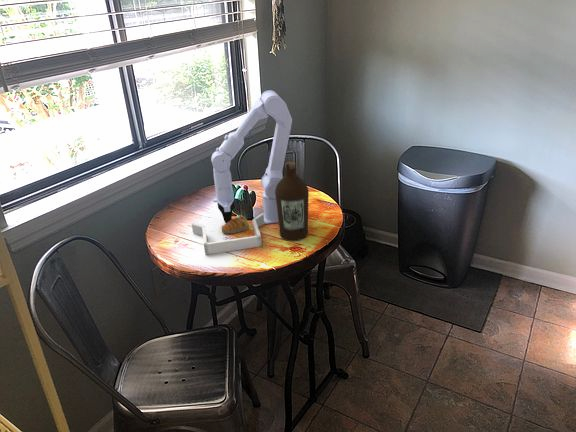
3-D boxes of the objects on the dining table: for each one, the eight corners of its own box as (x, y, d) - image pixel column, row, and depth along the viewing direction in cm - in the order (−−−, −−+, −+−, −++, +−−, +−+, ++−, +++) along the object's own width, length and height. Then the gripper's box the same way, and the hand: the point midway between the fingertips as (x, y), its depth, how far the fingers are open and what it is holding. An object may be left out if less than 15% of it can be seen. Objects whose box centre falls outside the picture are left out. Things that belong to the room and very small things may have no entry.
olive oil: (277, 227, 160) (273, 158, 149) (308, 226, 161) (306, 156, 149) (278, 243, 151) (273, 170, 140) (311, 241, 151) (308, 168, 140)
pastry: (228, 237, 157) (226, 227, 155) (217, 230, 161) (216, 221, 160) (251, 228, 161) (250, 218, 160) (240, 222, 166) (239, 212, 165)
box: (264, 222, 165) (263, 213, 163) (272, 244, 150) (271, 234, 149) (193, 232, 161) (191, 223, 159) (194, 256, 146) (192, 246, 145)
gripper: (210, 179, 164) (215, 214, 170) (213, 196, 151) (218, 233, 157) (230, 177, 165) (234, 212, 171) (234, 193, 152) (238, 230, 158)
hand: (228, 221), depth 164 cm, fingers closed
